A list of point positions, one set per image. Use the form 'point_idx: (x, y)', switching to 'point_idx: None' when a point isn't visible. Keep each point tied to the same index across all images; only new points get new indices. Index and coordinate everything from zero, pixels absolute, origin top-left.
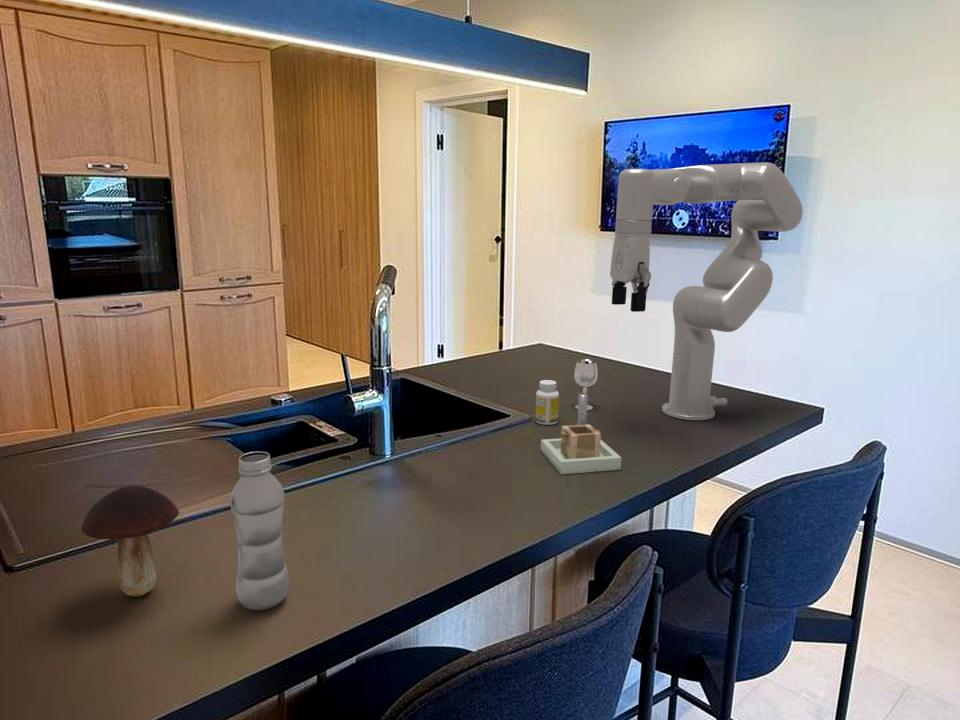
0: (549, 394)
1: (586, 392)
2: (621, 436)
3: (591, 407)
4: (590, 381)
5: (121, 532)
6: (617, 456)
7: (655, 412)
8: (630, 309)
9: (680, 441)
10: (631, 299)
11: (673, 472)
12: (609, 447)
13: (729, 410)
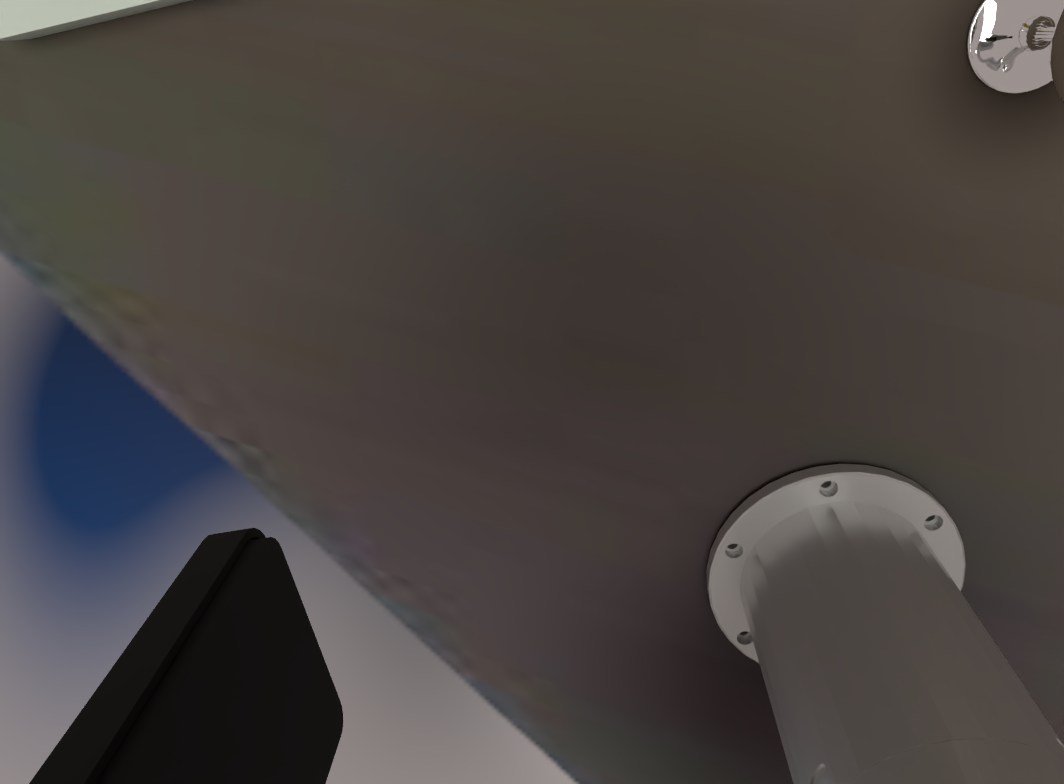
0: None
1: None
2: (490, 154)
3: (1002, 81)
4: (1050, 61)
5: None
6: (3, 22)
7: (863, 428)
8: (240, 534)
9: (436, 416)
10: (142, 674)
11: (60, 276)
12: (125, 6)
13: None
